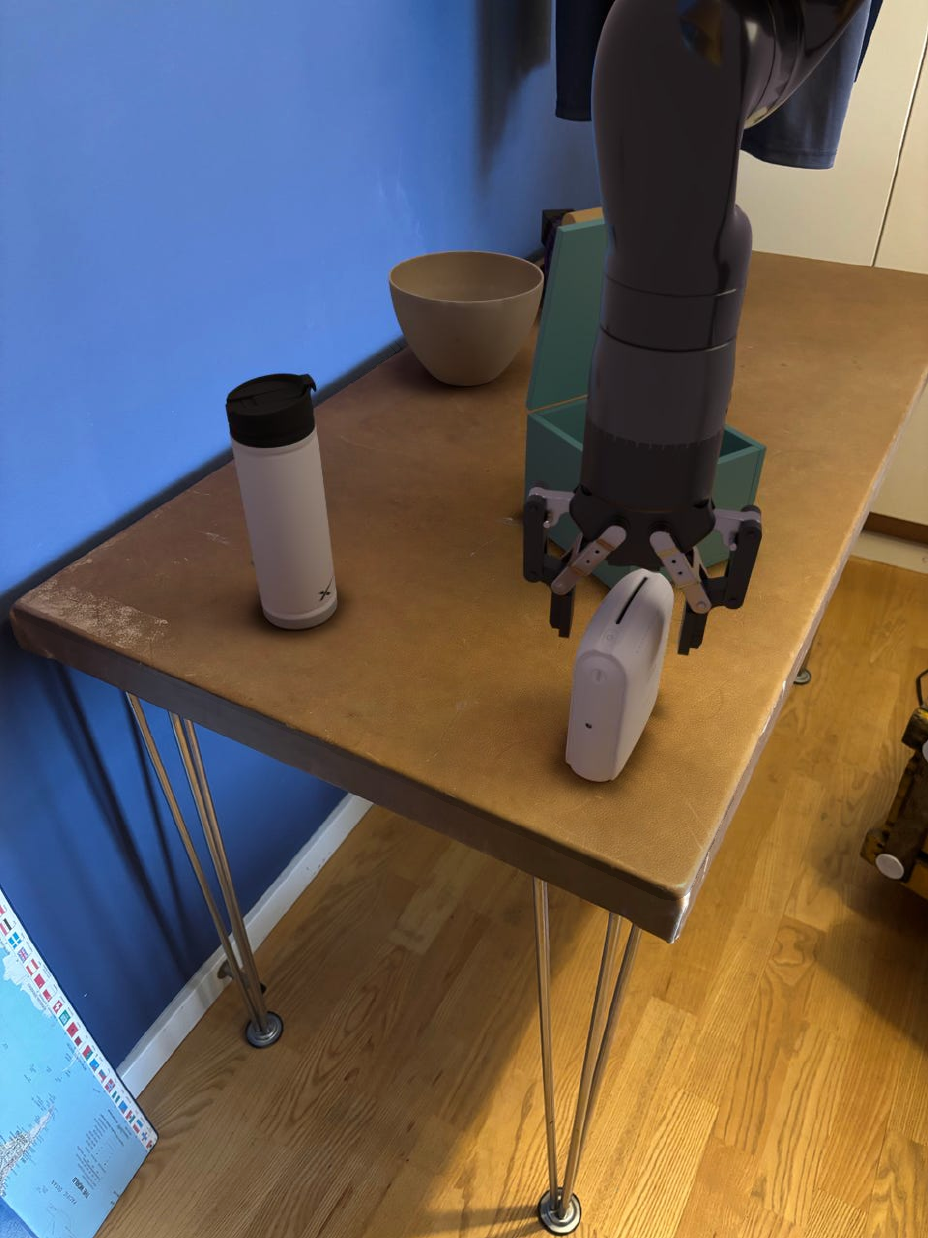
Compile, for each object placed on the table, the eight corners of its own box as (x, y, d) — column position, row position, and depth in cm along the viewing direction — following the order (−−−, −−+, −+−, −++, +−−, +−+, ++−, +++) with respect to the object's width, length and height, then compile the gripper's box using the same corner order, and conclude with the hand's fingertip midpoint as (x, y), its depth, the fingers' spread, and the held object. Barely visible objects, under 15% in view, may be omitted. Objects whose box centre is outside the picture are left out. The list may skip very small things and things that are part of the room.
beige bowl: (469, 419, 104) (468, 313, 96) (364, 374, 113) (356, 274, 106) (568, 371, 114) (575, 272, 106) (464, 333, 123) (463, 240, 116)
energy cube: (538, 295, 134) (542, 209, 127) (618, 291, 135) (626, 205, 128) (554, 326, 125) (559, 235, 118) (639, 321, 126) (649, 231, 119)
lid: (700, 204, 73) (659, 175, 76) (563, 231, 68) (524, 199, 71) (648, 376, 86) (615, 347, 89) (529, 411, 80) (498, 378, 83)
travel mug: (350, 619, 76) (325, 395, 63) (272, 638, 74) (230, 411, 61) (330, 577, 80) (303, 360, 68) (256, 595, 78) (214, 375, 66)
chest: (743, 553, 83) (767, 446, 76) (625, 601, 77) (640, 491, 70) (633, 478, 93) (645, 379, 86) (522, 516, 88) (526, 413, 81)
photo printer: (615, 793, 61) (636, 654, 53) (556, 771, 63) (568, 633, 55) (663, 698, 68) (688, 563, 60) (609, 680, 70) (626, 546, 62)
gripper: (513, 424, 48) (505, 660, 58) (797, 453, 45) (736, 694, 56) (536, 366, 53) (526, 590, 64) (790, 389, 51) (736, 618, 61)
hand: (624, 638), depth 60 cm, fingers open, 7 cm apart
